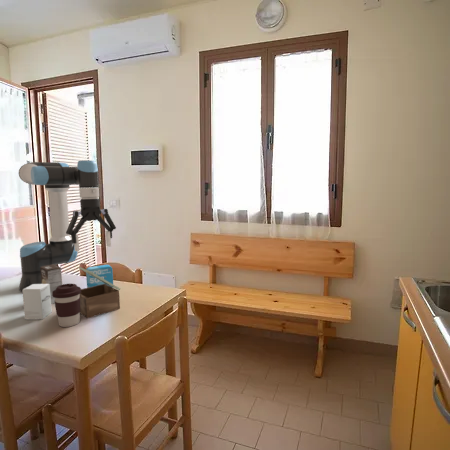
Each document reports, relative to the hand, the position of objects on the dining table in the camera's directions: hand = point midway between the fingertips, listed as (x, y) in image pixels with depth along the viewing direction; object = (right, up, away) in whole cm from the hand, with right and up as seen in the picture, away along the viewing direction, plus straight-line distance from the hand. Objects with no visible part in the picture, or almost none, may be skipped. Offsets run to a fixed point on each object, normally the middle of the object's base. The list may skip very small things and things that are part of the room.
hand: (93, 248), depth 138 cm
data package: (-8, -23, +28) cm, 37 cm away
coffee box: (-24, -25, +13) cm, 37 cm away
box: (+1, -26, +2) cm, 26 cm away
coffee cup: (-4, -28, -12) cm, 31 cm away
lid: (+2, -13, +2) cm, 14 cm away
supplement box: (-21, -28, -4) cm, 35 cm away
